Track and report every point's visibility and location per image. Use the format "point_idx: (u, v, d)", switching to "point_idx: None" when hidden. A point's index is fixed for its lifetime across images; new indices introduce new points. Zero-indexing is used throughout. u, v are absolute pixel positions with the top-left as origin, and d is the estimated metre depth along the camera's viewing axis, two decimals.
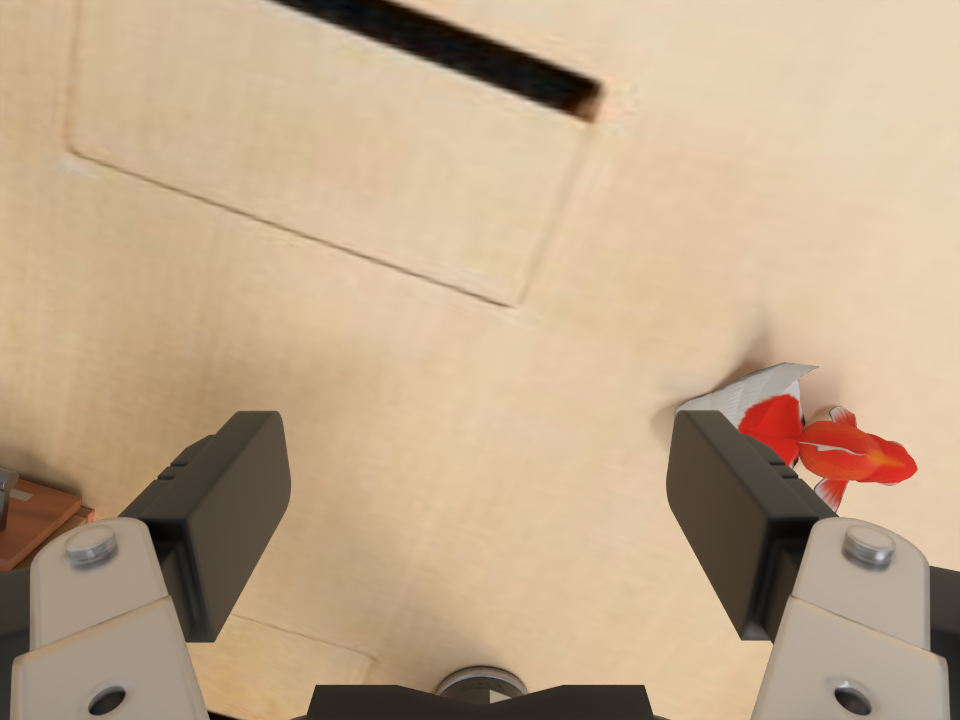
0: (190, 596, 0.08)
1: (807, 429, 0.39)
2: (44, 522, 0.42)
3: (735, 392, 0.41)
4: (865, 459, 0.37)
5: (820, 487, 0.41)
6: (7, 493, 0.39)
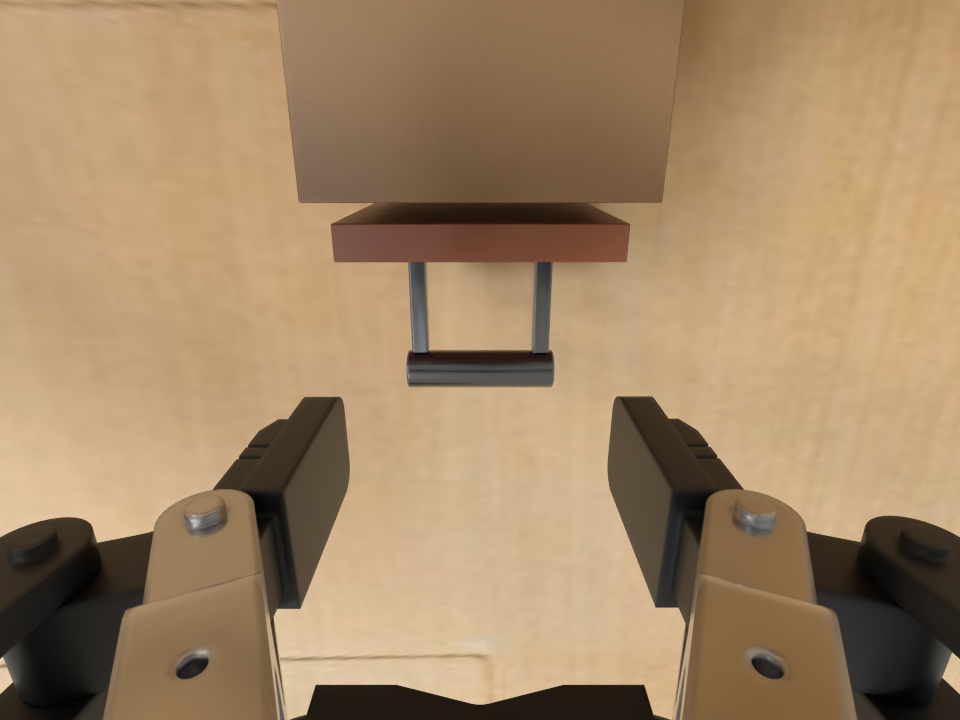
0: (282, 564, 0.08)
1: None
2: None
3: None
4: None
5: None
6: None
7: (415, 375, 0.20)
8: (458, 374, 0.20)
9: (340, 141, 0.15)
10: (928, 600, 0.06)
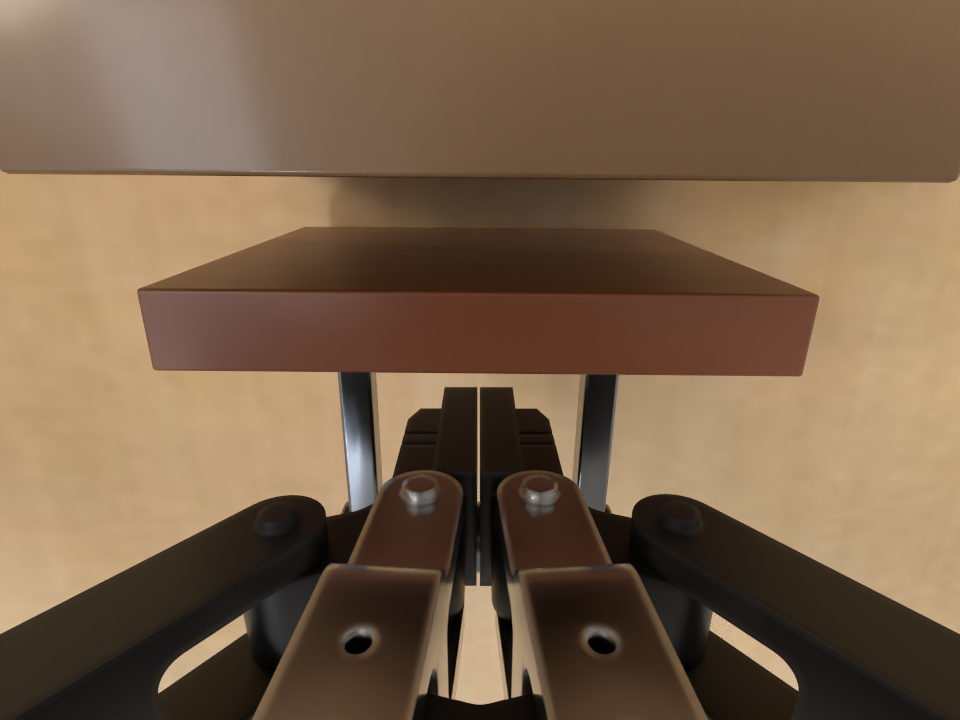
0: (468, 542, 0.09)
1: None
2: None
3: None
4: None
5: None
6: None
7: None
8: None
9: None
10: (699, 576, 0.06)
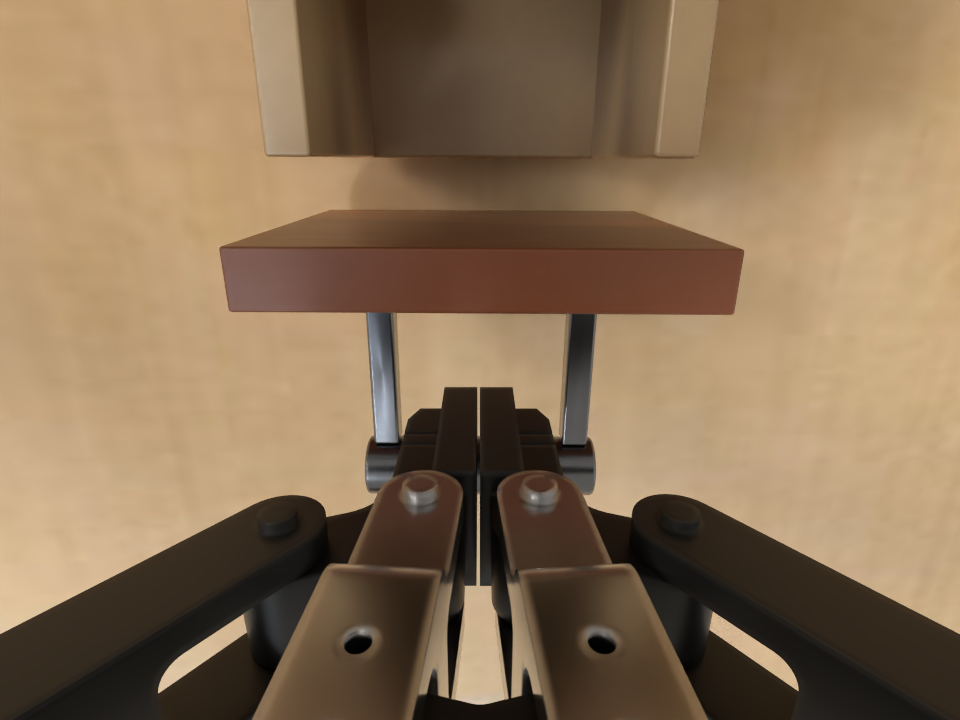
0: (468, 542, 0.09)
1: None
2: None
3: None
4: None
5: None
6: None
7: (379, 478, 0.13)
8: None
9: None
10: (699, 576, 0.06)
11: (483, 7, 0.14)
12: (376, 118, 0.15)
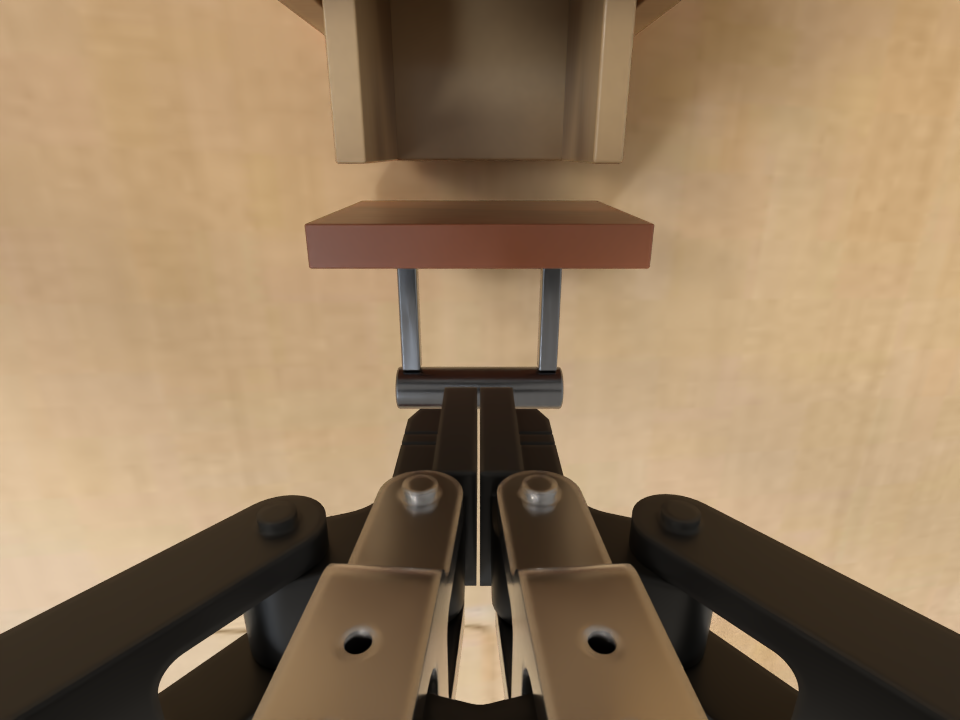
0: (468, 542, 0.09)
1: None
2: None
3: None
4: None
5: None
6: None
7: (406, 396, 0.18)
8: None
9: None
10: (698, 576, 0.06)
11: (479, 49, 0.19)
12: (399, 131, 0.20)
